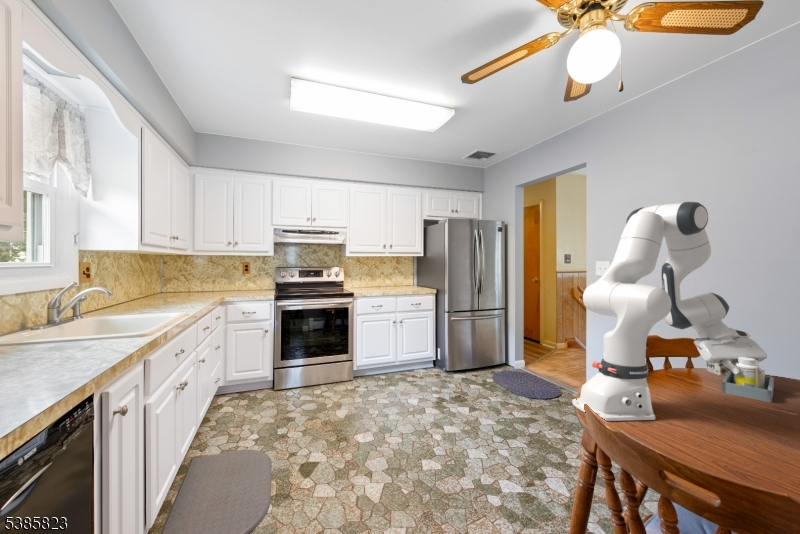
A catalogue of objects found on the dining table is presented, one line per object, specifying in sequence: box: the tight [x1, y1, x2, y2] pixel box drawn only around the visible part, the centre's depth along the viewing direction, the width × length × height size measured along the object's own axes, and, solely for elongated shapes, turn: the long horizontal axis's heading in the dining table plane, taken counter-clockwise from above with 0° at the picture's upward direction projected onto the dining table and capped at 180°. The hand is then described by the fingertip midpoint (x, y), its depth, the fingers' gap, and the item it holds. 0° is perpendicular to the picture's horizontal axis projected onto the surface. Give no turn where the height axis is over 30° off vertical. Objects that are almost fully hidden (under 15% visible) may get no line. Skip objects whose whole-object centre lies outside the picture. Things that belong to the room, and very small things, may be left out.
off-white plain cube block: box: [734, 369, 766, 389], centre depth 115 cm, size 6×7×6 cm
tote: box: [721, 370, 775, 403], centre depth 112 cm, size 20×11×4 cm, turn 129°
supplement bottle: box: [735, 357, 760, 388], centre depth 109 cm, size 6×6×10 cm
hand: (749, 373), depth 108 cm, fingers closed on supplement bottle, 6 cm apart
